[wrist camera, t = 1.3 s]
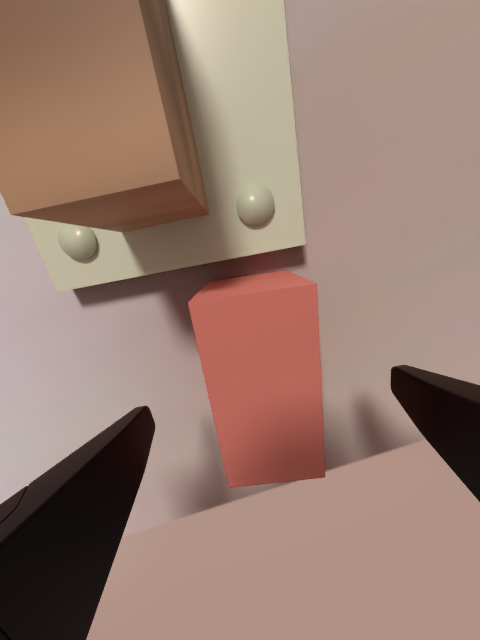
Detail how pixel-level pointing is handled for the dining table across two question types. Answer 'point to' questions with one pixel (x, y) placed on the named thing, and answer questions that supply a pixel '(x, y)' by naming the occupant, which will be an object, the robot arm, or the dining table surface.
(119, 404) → the dining table surface
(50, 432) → the dining table surface
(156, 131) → the brick walnut
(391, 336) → the dining table surface
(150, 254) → the plate
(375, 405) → the dining table surface
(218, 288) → the brick red
